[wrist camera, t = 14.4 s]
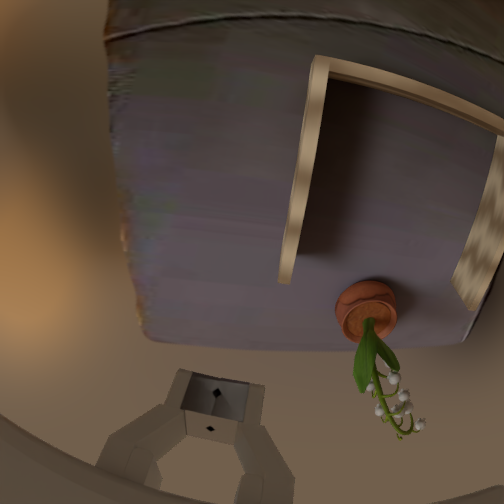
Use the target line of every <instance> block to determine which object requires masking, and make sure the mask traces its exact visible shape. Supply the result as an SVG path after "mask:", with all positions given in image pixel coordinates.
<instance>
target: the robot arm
mask: <svg viewBox="0 0 504 504" xmlns="http://www.w3.org/2000/svg"><path fill="white" fill-rule="evenodd" d="M249 384H250V385H249ZM264 391H265V386H264V385H259V384H252V383H249V382H243V381H237V380H230V379H225V378H218V377H213V376H209V375H204V374H200V373H196V372H193V371H188V370H184V369H179V370H178V371H177V372H176V375H175V377H174V380H173V382H172V385H171V388H170V390H169V393H168V395H167V398H166V400H165V403H164V405H162V404H159V405H157V406H156V407H154V408H152V409H151V410H149V411H148V412H146V413H145V414H143V415H142V416H140V417H138V418H137V419H136V420H134V421H132V422H130V423H129V424H127V425H126V426H124V427H122V428H121V429H119V430H118V431H116V432H114V433H113V434H111V435H109V437H108V439H107V442H106V443H105V446H104V448H103V450H102V452H101V454H100V457H99V459H98V461H97V463H96V465H95V466H93V465H91V464H89V463H86V462H84V461H82V460H80V459H78V458H76V457H73V456H72V455H70V454H68V453H66V452H63V451H62V450H60V449H58V448H56V447H54V446H52V445H50V444H49V443H47V442H45V441H43V440H42V439H40V438H38V437H36V436H35V435H33V434H31V433H29V432H28V431H26V430H25V429H23V428H21V427H20V426H18V425H17V424H15V423H14V422H12V421H11V420H9V419H8V418H6V417H5V416H3V415H2V414H0V504H214V503H210V502H205V501H200V500H196V499H192V498H187V497H183V496H179V495H175V494H172V493H169V492H165V491H162V490H159V489H160V485H161V482H162V476H161V474H160V471H159V469H158V466H157V463H156V461H158V460H159V459H160V458H161V457H163V456H164V455H165V454H166V453H167V452H169V451H170V450H171V449H172V448H173V447H175V445H177V444H178V443H179V442H181V440H183V439H184V438H185V437H186V435H189V436H193V437H198V438H203V439H208V440H212V441H217V442H221V443H226V444H231V445H234V448H235V451H236V453H237V455H238V458H239V460H240V462H241V465H242V467H243V469H244V471H245V474H244V475H243V476H242V477H241V480H240V483H239V486H238V489H237V492H236V495H235V499H234V504H293V495H294V483H295V477H294V476H293V475H292V472H291V471H290V469H289V468H288V466H287V464H286V463H285V461H284V459H283V457H282V456H281V454H280V452H279V451H278V449H277V447H276V446H275V444H274V442H273V441H272V439H271V437H270V435H269V434H268V432H267V430H266V428H265V426H262V425H260V420H261V414H262V407H263V399H264ZM429 504H504V486H503V485H495V486H492V487H489V488H486V489H483V490H479V491H476V492H473V493H470V494H466V495H463V496H459V497H455V498H452V499H447V500H443V501H438V502H434V503H429Z"/></svg>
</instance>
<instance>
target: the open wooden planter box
mask: <svg viewBox="0 0 504 504" xmlns="http://www.w3.org/2000/svg"><path fill="white" fill-rule="evenodd" d="M328 78H331V79H336V80H340V81H345V82H349V83H354V84H358V85H362V86H366V87H370V88H373V89H377V90H381V91H384V92H388V93H391V94H394V95H398V96H401V97H404V98H407V99H410V100H413V101H416V102H419V103H422V104H425V105H428V106H431V107H433V108H436V109H439V110H441V111H444V112H447V113H449V114H452V115H454V116H457V117H459V118H461V119H464V120H466V121H469V122H471V123H473V124H475V125H478V126H480V127H482V128H484V129H486V130H488V131H490V132H492V133H495V134H497V135H498V136H497V141H496V145H495V150H494V154H493V159H492V163H491V167H490V171H489V174H488V178H487V182H486V185H485V189H484V192H483V196H482V199H481V202H480V205H479V208H478V211H477V214H476V217H475V220H474V223H473V226H472V229H471V232H470V234H469V237H468V240H467V242H466V245H465V247H464V250H463V252H462V255H461V257H460V260H459V262H458V265H457V267H456V269H455V271H454V274H453V276H452V278H451V280H450V282H451V283H452V285H453V286H454V288H455V289H456V291H457V292H458V294H459V296H460V297H461V299H462V300H463V302H464V303H465V305H466V307H467V308H468V310H473V311H475V310H476V309H477V307H478V305H479V303H480V301H481V299H482V297H483V295H484V293H485V291H486V289H487V287H488V285H489V283H490V281H491V279H492V277H493V275H494V273H495V270H496V268H497V266H498V264H499V261H500V259H501V257H502V254H503V252H504V119H502V118H500V117H499V116H497V115H495V114H493V113H491V112H489V111H487V110H485V109H483V108H481V107H479V106H476V105H474V104H472V103H470V102H468V101H466V100H463V99H461V98H459V97H456V96H454V95H452V94H449V93H447V92H444V91H442V90H439V89H437V88H434V87H432V86H429V85H426V84H424V83H421V82H418V81H415V80H412V79H409V78H406V77H403V76H400V75H397V74H394V73H390V72H387V71H384V70H380V69H377V68H373V67H369V66H365V65H361V64H357V63H353V62H349V61H345V60H340V59H336V58H331V57H326V56H321V55H316V56H315V58H314V60H313V62H312V64H311V71H310V78H309V85H308V91H307V98H306V105H305V112H304V118H303V125H302V131H301V137H300V144H299V150H298V156H297V162H296V168H295V174H294V180H293V186H292V192H291V198H290V204H289V209H288V215H287V221H286V226H285V232H284V237H283V243H282V248H281V255H280V265H279V275H278V283H283V284H289V285H290V280H291V276H292V271H293V266H294V262H295V257H296V252H297V248H298V243H299V238H300V233H301V228H302V223H303V218H304V213H305V208H306V203H307V198H308V192H309V187H310V182H311V176H312V171H313V165H314V160H315V154H316V148H317V143H318V137H319V131H320V125H321V119H322V112H323V106H324V100H325V93H326V86H327V80H328Z"/></svg>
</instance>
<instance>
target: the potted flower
mask: <svg viewBox="0 0 504 504" xmlns="http://www.w3.org/2000/svg"><path fill="white" fill-rule="evenodd" d="M335 314H336V317H337V320H338V323H339V324H340V326H341V328H342V332H343V334H344V336H345V337H346V338H347V339H349V340H350V341H352V342H355V343H359V346H358V349H357V352H356V355H355V361H354V370H353V376H354V378H355V381H356V383H357V386H358V389H359V391H360V393H364V392H365V390H366V389H367V390H368V391H372V398H375V397H376V395H378V398H379V401H380V403H381V405H380V404H377V407H375V409H376V410H375V414H376V415H377V416H383V415H384V414H386V419H385V422H384V421H383V419H382V417H381V419H382V421H383V422H384V423H386V421H390V423H391V425H392V426H393V427H394V429H395V430H396V431H397V432H398V433H400V434H402V435H409V434H411V432H415V433H417V432H419V431H420V430H422V429H424V427H425V425H426V424H425V423H426V422H425V418H423V419H422V420H421V418H418V421H416V422H415V423H416V424H415V427H416V429H418V430H419V431H414V430H413V425H414V423H413V418H412V415H411V412H412V410H413V404H412V403H411V402H410V399H409V397H410V393H409V392H408V390H409V389H406V390H404V389H401V392H399V393H398V394H399V399H400V400H401V401H403V402H402V403H400V404H399V406H398V405H395V406H394V408H391V410H393V413H390V411H389V409H388V406H387V404H386V401H385V398H386V397H392V396H393V395H395V394H396V393H397V391H398V388H399V382H400V381H401V375H400V374H399V373H398V371H399V370H400V366H399V362H398V360H397V358H396V356H395V354H394V353H393V352H392V350H391V349H390V348H389V347H388V346H387V345H386V344H385V343H384V342H383V341H382V340H381V339H383V338H385V337H386V336H387V335H388V334H390V333H391V331H392V330H393V329H394V327H395V325H396V323H397V312H396V301H395V296H394V294H393V292H392V290H391V289H390V288H389V287H388V286H387V285H385V284H383V283H381V282H377V281H361V282H358V283H355V284H353V285H351V286H350V287H348V288H347V289H346V290H345V291H344V292H343V293H342V294H341V295H340V296H339V298H338V300H337V302H336V306H335ZM377 353H378V354H379V355H380V357H381V358H382V359H383V361H385V366H386V367H387V368H391V369H392V370H394V372H392V370H391V371H390V372H389V376H385V375H383V374H381V373H380V372H378V371H377V368H376V364H375V359H376V354H377ZM371 376H372V380H371ZM378 376H380V377H383V378H386V379H389V382H390V384H393V385H396V384H397V390H396V391H395V393H393V394H391V395H383V391H382V388H381V384H380V381H379V377H378ZM370 380H371V382H370ZM374 389H376V390H375V393H374V396H373V390H374ZM406 401H407V402H406ZM409 413H410V418H411V427H410V429H409V430H408V431H403V430H401V429H400V428H399V427H400V426H401V425H402V423H403V419H402V417H403V416H404V414H409ZM392 416H395V417H397V418H400V417H401V424H400V425H397V424H396V422H395V421H394V419H393V417H392ZM397 437H398V439H399V440H400V441H401V440H402V437H400V438H399V436H398V434H397Z"/></svg>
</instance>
